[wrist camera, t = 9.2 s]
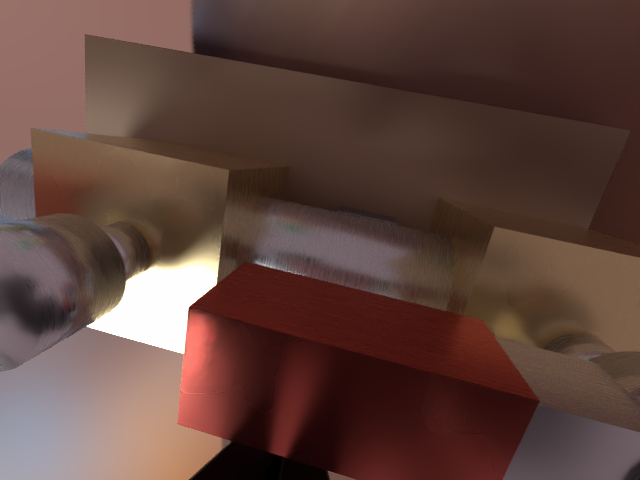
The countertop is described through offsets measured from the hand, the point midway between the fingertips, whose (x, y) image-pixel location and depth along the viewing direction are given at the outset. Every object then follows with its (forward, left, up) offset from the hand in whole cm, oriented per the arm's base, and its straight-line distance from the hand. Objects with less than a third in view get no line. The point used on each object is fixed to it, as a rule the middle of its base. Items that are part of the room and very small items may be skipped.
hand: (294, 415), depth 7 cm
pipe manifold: (+2, +2, -7) cm, 8 cm away
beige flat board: (+2, +2, -9) cm, 9 cm away
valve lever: (+2, -3, 0) cm, 4 cm away
